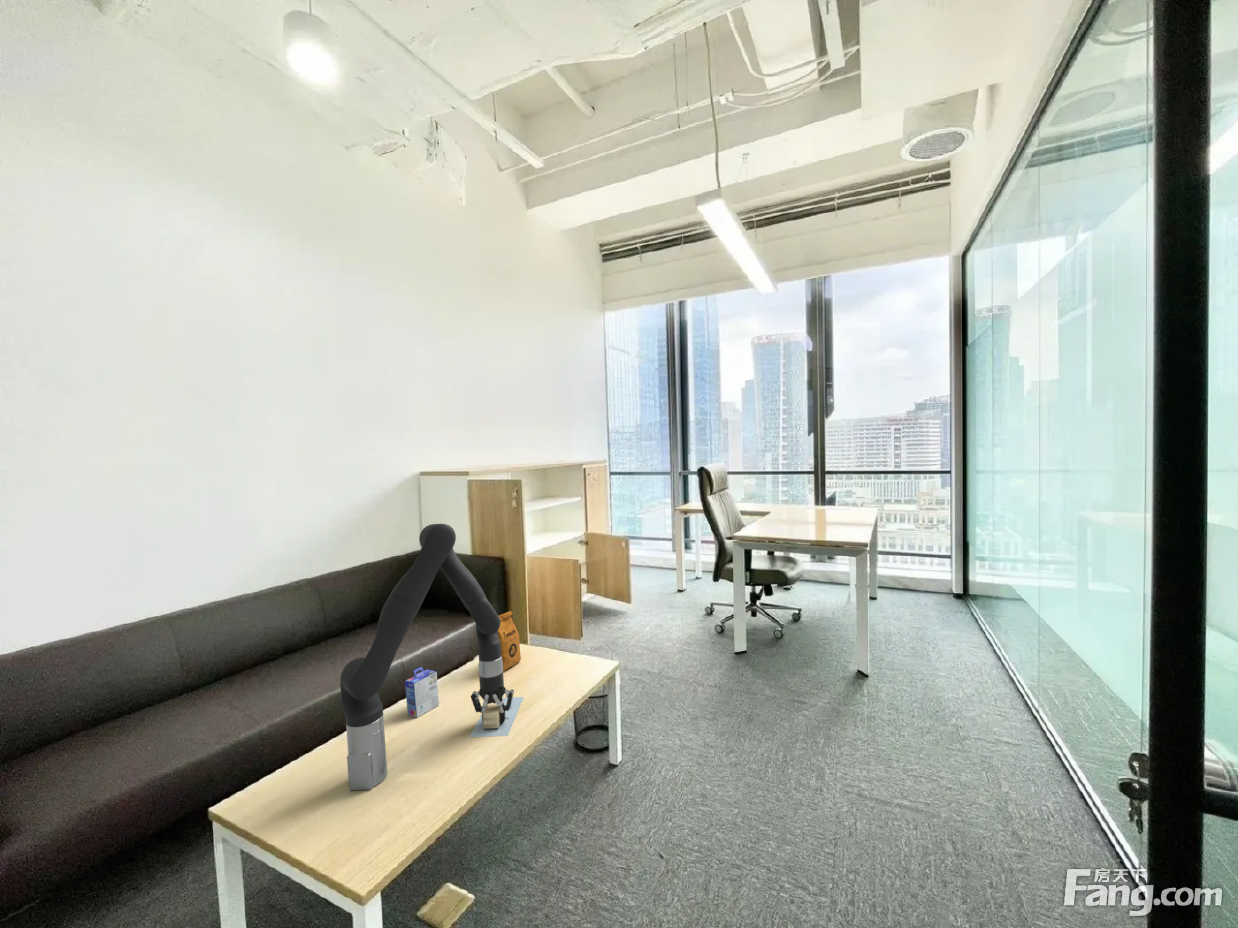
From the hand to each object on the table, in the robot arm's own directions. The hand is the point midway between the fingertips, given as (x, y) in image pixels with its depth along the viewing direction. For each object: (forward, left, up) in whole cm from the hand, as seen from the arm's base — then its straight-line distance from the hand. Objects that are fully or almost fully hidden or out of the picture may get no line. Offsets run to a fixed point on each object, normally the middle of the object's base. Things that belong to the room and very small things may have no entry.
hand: (494, 722), depth 162 cm
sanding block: (0, 0, 0) cm, 0 cm away
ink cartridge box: (+14, +29, -2) cm, 32 cm away
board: (+5, 0, -2) cm, 5 cm away
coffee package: (+47, +8, -2) cm, 47 cm away
